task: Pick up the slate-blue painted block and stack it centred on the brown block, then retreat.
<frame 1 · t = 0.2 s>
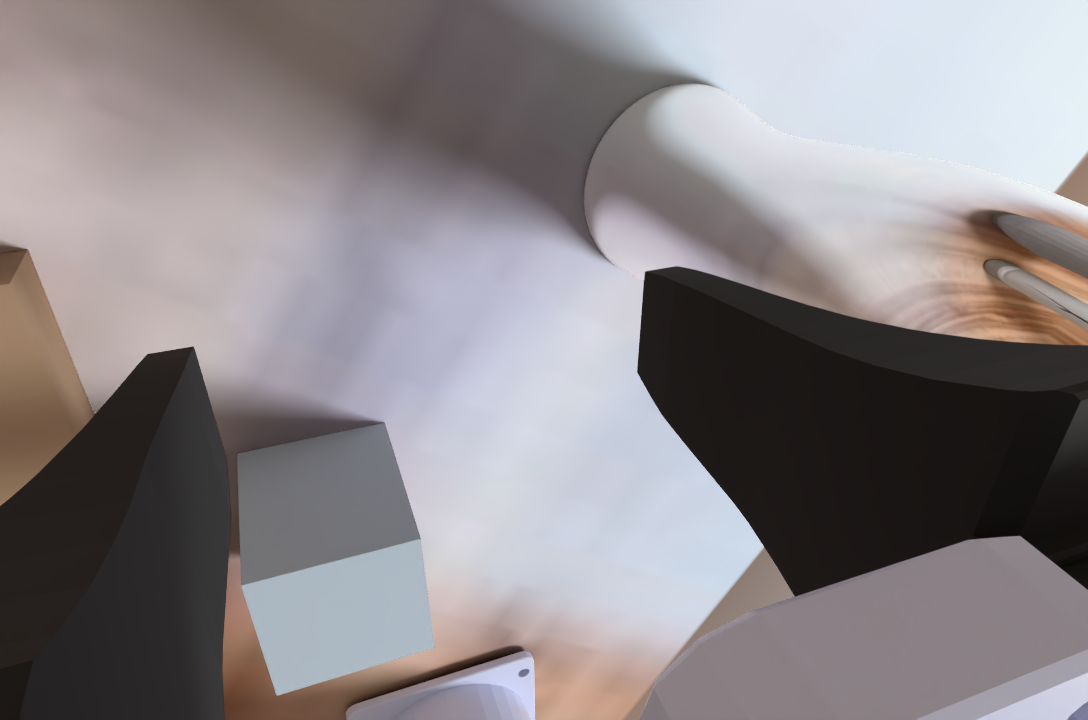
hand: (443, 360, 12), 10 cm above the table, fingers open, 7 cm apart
beer glass: (668, 181, 23), on the table
slate block: (324, 490, 25), on the table
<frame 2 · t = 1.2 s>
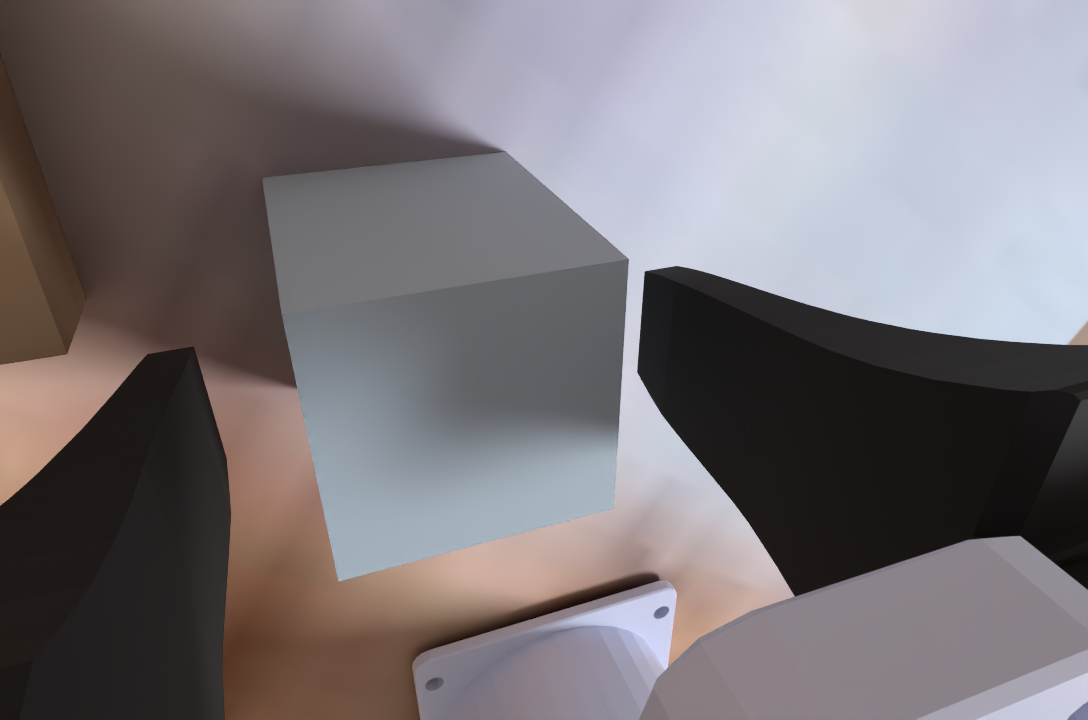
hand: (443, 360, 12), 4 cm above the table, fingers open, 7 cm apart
slate block: (401, 274, 15), on the table
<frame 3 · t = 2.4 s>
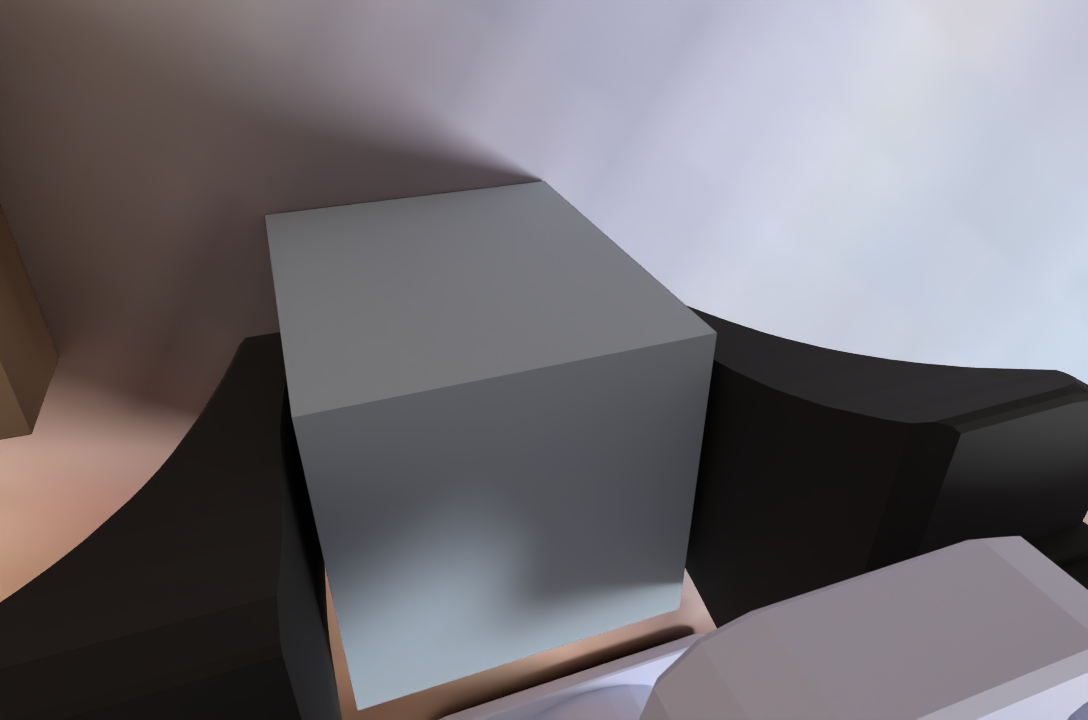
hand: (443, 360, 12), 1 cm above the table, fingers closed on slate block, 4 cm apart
slate block: (424, 320, 13), on the table, touching gripper
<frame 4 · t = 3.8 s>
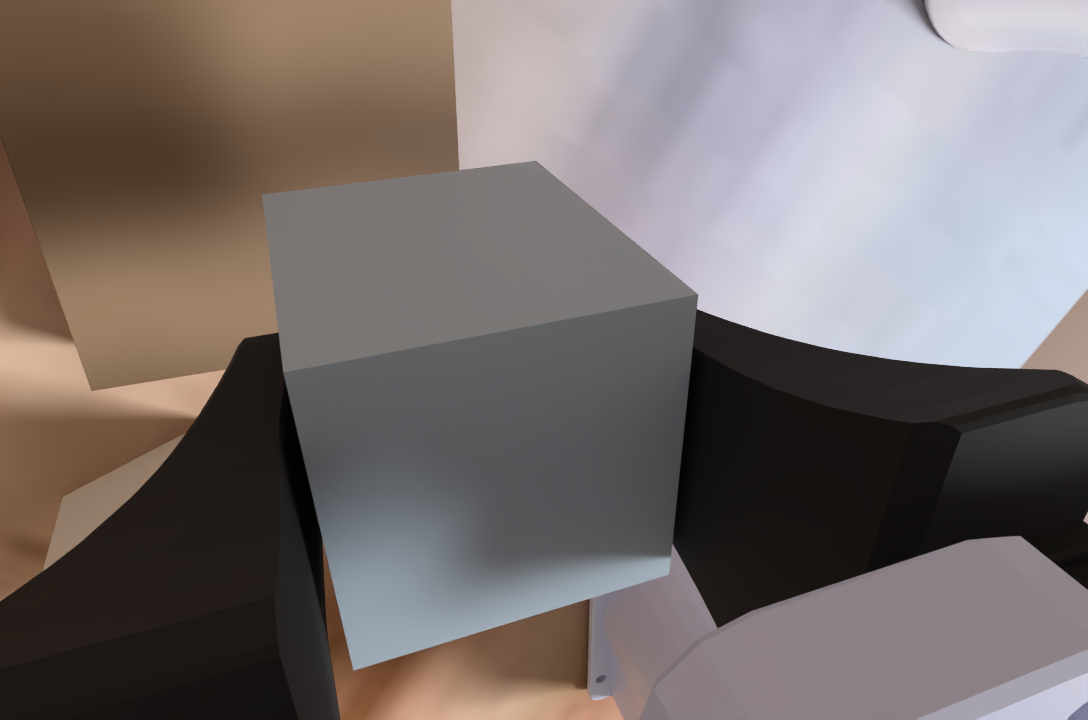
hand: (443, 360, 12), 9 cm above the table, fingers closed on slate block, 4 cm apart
cream block: (187, 506, 22), on the table
brown block: (255, 152, 18), on the table
slate block: (420, 299, 13), point 7 cm above the table, touching gripper
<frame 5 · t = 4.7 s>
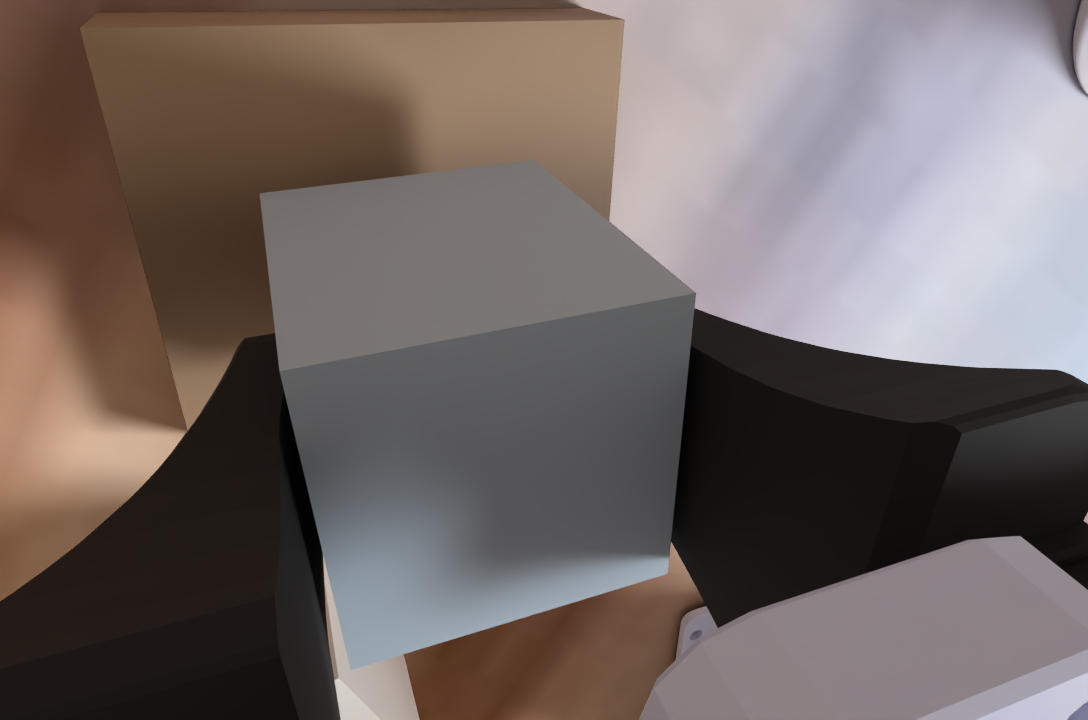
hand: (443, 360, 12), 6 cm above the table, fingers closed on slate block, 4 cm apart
cream block: (280, 592, 21), on the table
brown block: (379, 226, 17), on the table
slate block: (418, 299, 13), point 4 cm above the table, touching gripper
when the fingers open (6 cm above the table, at t = 5.4 s): slate block drops 2 cm, resting on brown block.
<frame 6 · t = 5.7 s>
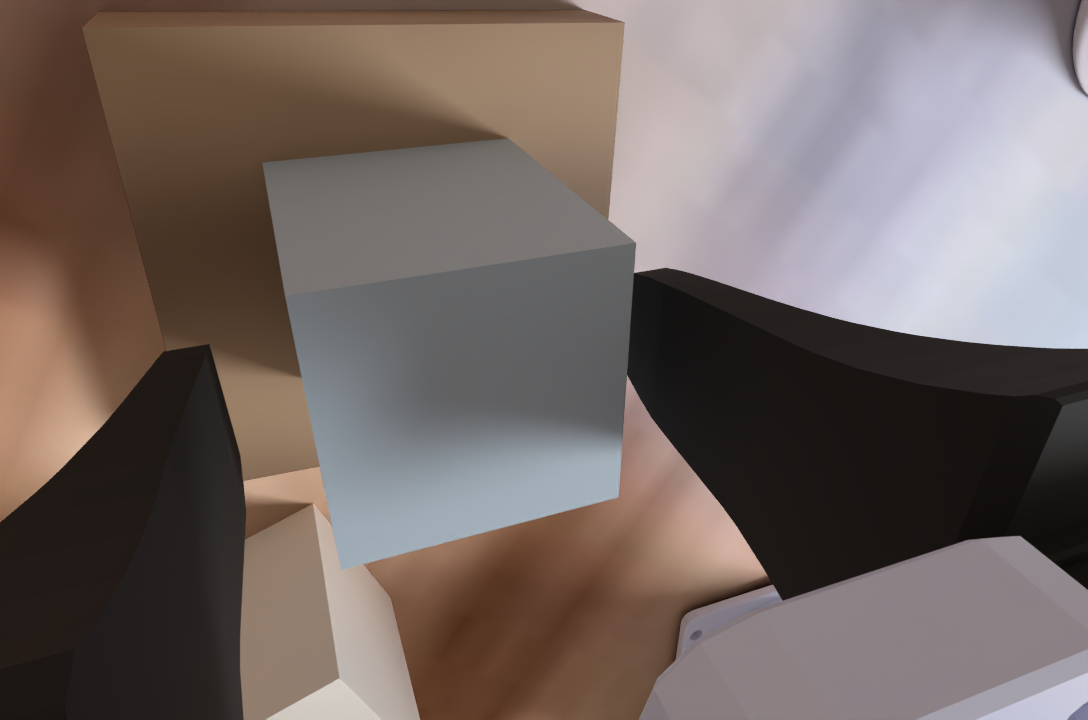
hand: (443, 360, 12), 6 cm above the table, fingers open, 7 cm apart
cream block: (280, 592, 21), on the table
brown block: (379, 225, 17), on the table, touching slate block
slate block: (403, 262, 15), point 2 cm above the table, touching brown block
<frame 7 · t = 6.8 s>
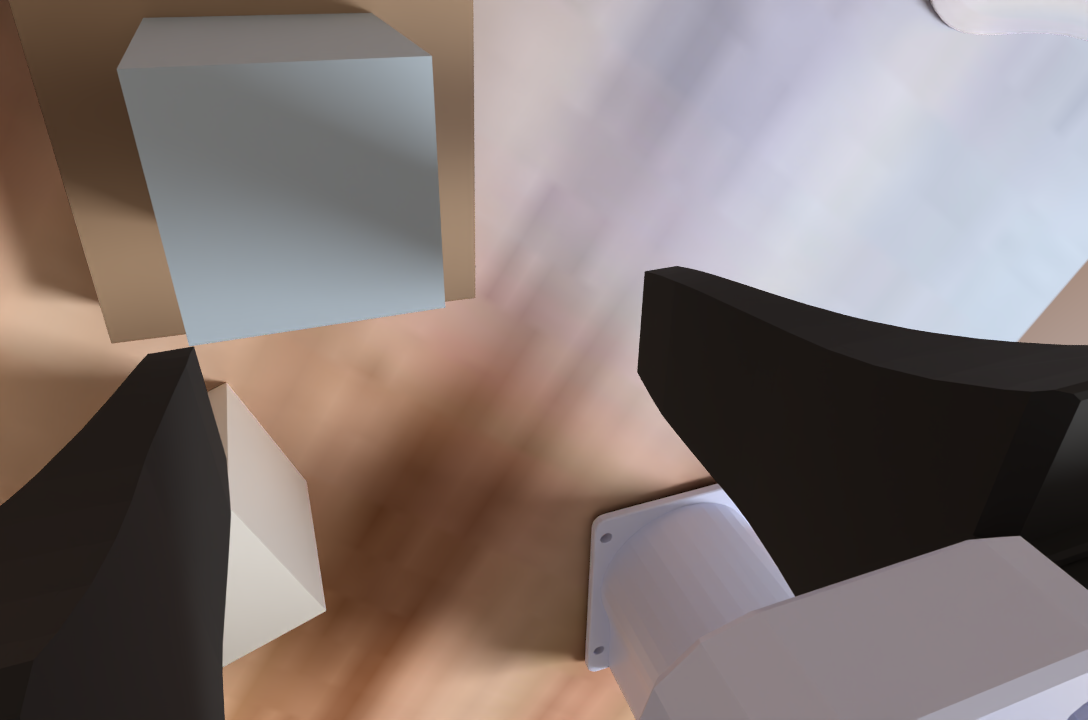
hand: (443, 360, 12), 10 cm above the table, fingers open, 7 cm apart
cream block: (200, 469, 23), on the table
brown block: (275, 117, 19), on the table, touching slate block
slate block: (280, 125, 17), point 2 cm above the table, touching brown block
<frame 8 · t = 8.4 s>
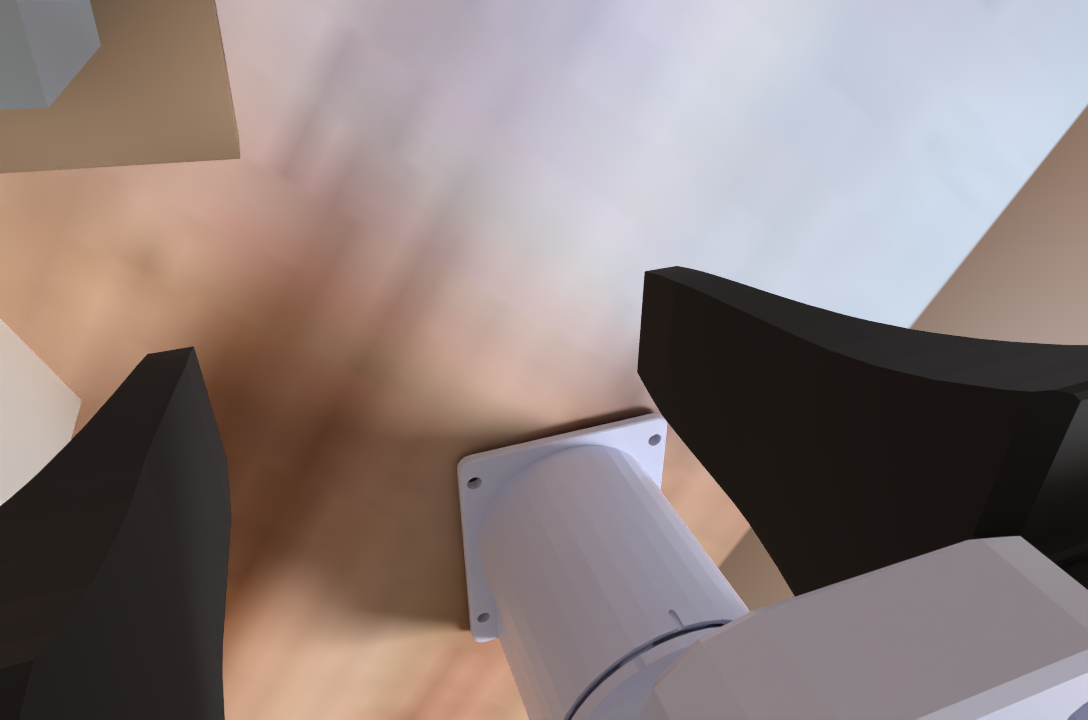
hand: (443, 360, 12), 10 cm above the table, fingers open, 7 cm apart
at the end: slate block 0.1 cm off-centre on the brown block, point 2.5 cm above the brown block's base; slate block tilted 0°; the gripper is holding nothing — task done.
